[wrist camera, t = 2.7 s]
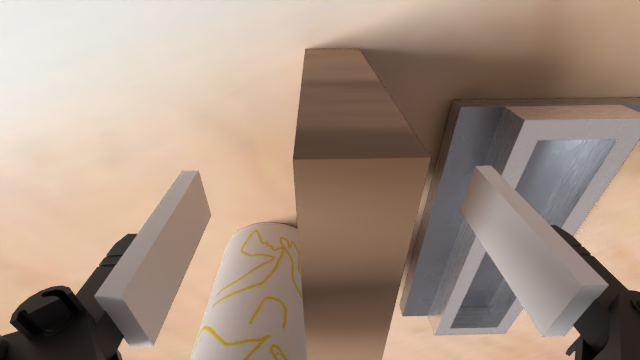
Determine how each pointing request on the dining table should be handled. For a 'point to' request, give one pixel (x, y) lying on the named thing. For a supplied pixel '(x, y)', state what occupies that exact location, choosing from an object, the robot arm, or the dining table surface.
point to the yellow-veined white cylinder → (256, 299)
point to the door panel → (352, 203)
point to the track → (527, 179)
